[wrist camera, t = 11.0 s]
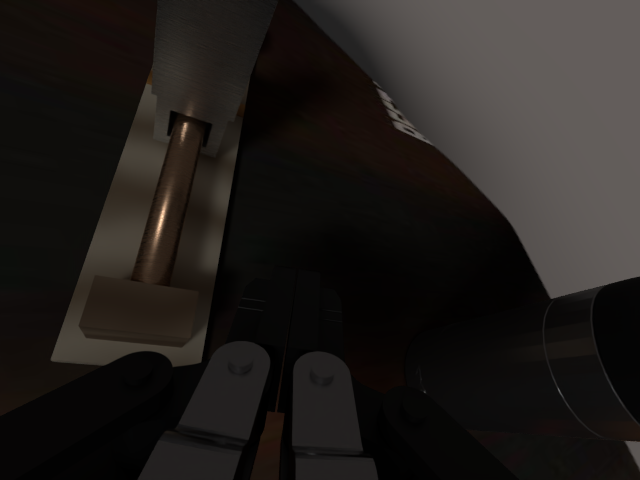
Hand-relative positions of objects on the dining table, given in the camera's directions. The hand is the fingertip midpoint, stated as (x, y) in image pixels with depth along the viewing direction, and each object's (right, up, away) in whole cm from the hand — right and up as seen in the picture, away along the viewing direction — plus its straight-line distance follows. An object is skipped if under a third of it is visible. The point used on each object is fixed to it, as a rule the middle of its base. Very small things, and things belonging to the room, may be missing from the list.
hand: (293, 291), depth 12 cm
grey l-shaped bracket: (-11, +12, +21) cm, 26 cm away
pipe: (-10, +11, +19) cm, 24 cm away
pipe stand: (-12, +10, +21) cm, 26 cm away
